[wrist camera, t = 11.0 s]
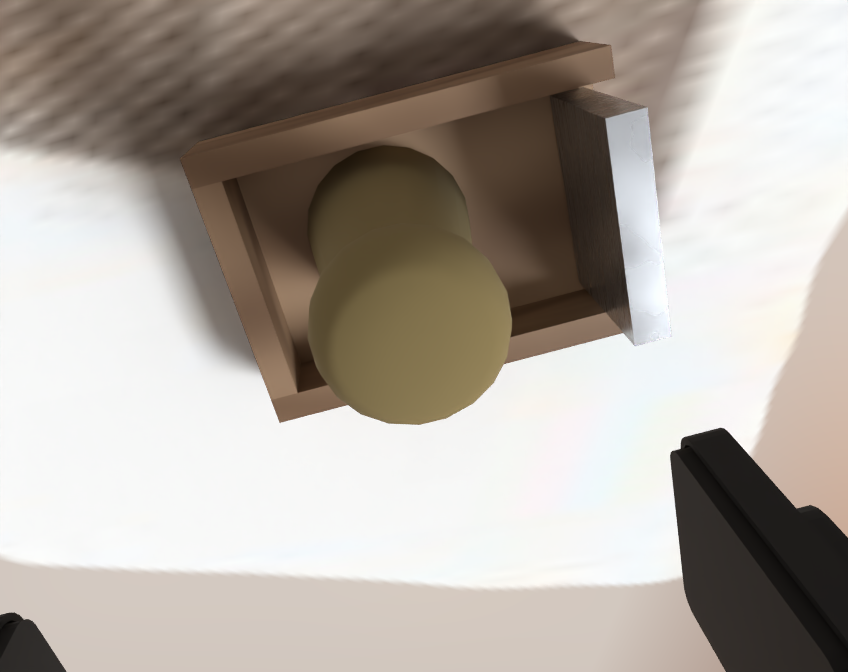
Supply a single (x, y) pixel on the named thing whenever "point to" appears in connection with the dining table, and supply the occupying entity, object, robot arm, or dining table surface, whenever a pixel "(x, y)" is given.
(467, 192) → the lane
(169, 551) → the dining table surface
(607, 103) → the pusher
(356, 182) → the cork
